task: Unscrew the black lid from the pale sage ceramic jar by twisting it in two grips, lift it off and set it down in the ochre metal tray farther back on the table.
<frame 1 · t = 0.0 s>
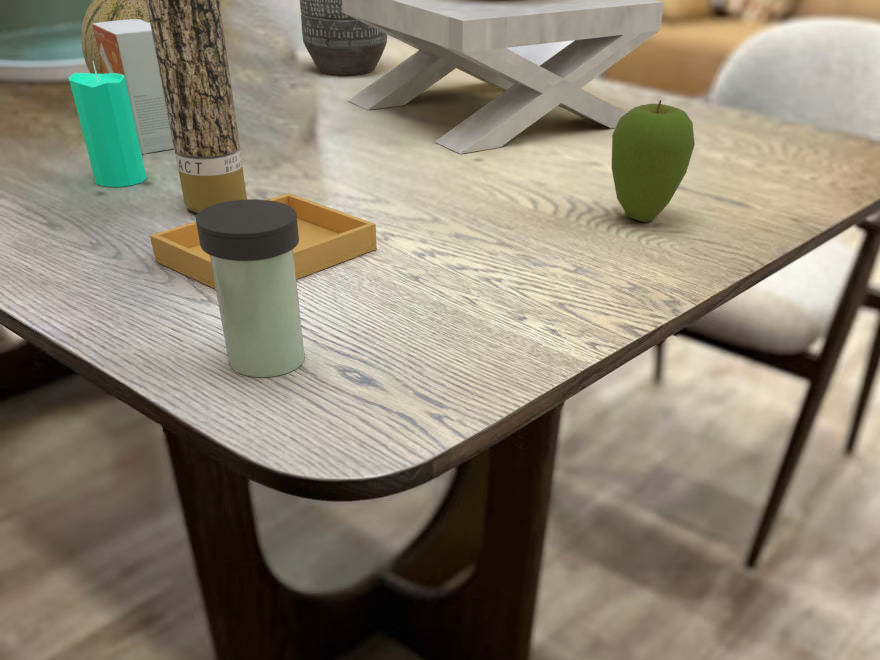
planter: (347, 70, 145), on the table
x-leg display riser: (492, 112, 125), on the table
small box: (152, 145, 111), on the table
candle: (121, 180, 100), on the table
paper tube: (217, 208, 93), on the table
tray: (268, 255, 83), on the table
lid: (247, 220, 60), point 11 cm above the table, screwed on, not yet turned
apple: (639, 220, 93), on the table
cantaloupe: (148, 109, 124), on the table
jar: (267, 359, 67), on the table
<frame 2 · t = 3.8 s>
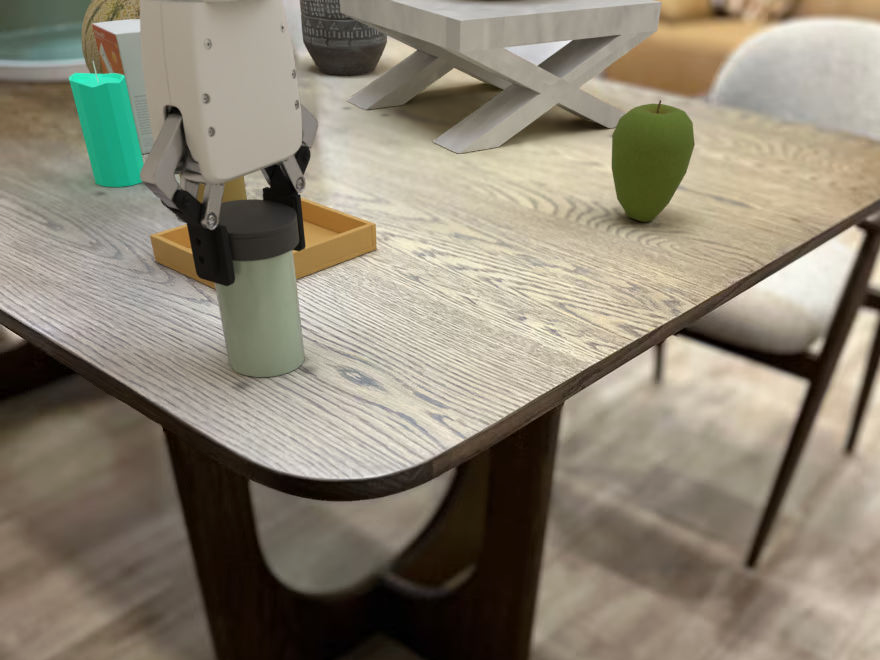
hand: (252, 261, 62), 8 cm above the table, tool pointing down, fingers closed on lid, 7 cm apart
lid: (247, 220, 60), point 11 cm above the table, screwed on, not yet turned, touching gripper
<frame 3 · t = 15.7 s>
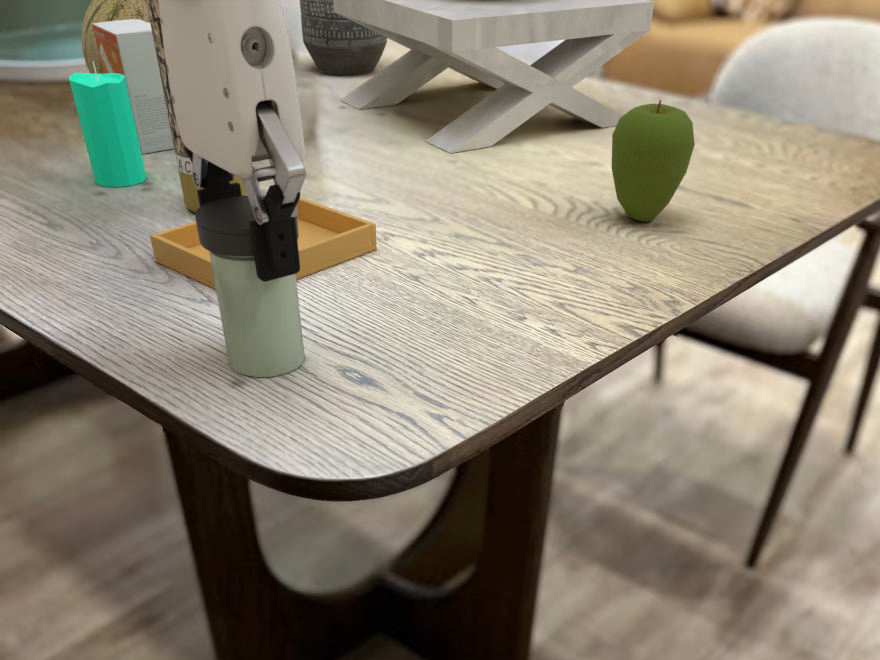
hand: (252, 257, 62), 8 cm above the table, tool pointing down, fingers closed on lid, 7 cm apart
lid: (246, 216, 60), point 11 cm above the table, turned 342° so far, risen 0.3 cm, still on its thread, touching gripper
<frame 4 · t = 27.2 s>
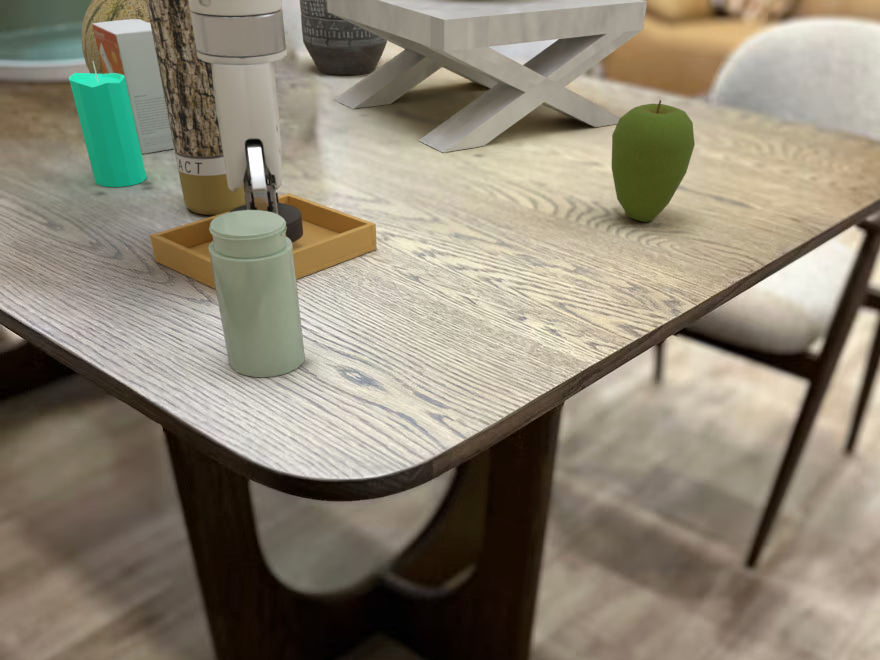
hand: (268, 248, 83), 1 cm above the table, tool pointing down, fingers closed on lid, 7 cm apart
lid: (264, 218, 81), point 4 cm above the table, off its thread, touching gripper
when the fingers open (2 cm above the table, at t = 38.8 s): lid drops 3 cm, resting on tray.
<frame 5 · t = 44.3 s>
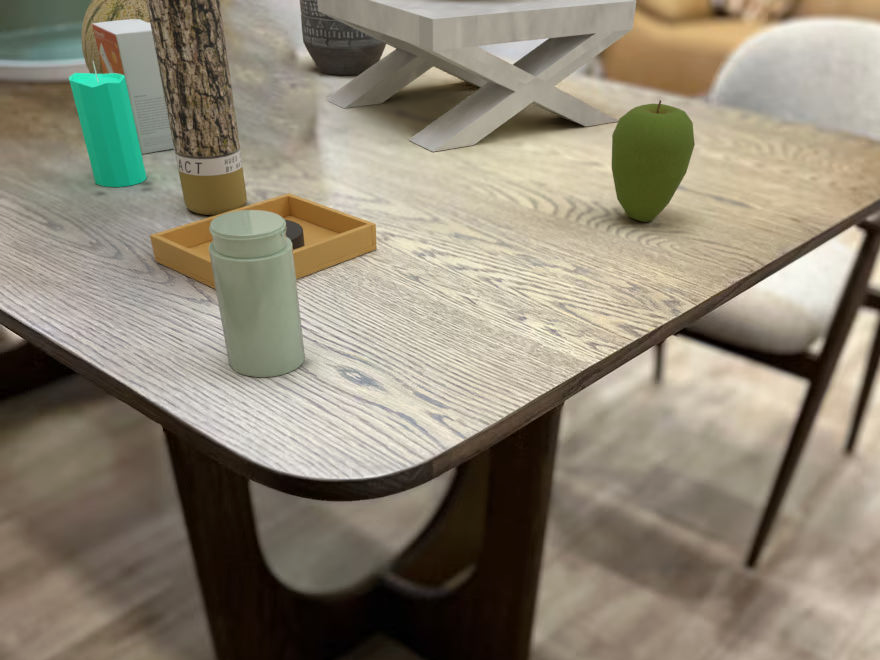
x-leg display riser: (468, 111, 126), on the table
lid: (266, 234, 82), point 2 cm above the table, off its thread, touching tray
everything else where it was.
at the end: lid inside the target area in the tray (0.1 cm from its centre), point 2.0 cm above the tray's base; the gripper is holding nothing; jar tilted 0° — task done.
